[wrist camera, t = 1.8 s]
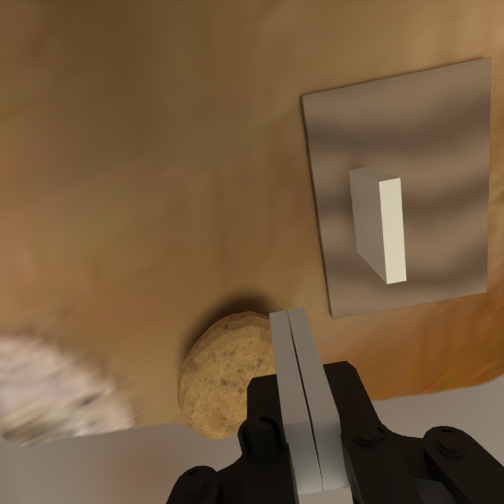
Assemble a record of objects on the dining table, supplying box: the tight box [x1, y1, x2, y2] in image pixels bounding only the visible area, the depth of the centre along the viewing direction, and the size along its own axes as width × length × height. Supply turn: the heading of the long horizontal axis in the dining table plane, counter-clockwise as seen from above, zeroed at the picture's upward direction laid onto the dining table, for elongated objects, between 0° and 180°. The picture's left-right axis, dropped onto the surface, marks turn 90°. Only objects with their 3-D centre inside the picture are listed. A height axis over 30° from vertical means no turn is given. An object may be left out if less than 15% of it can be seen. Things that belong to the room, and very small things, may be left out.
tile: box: [349, 167, 406, 284], centre depth 31 cm, size 8×2×8 cm, turn 11°
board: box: [301, 57, 491, 319], centre depth 35 cm, size 22×16×1 cm
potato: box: [177, 311, 277, 440], centre depth 36 cm, size 10×14×8 cm
